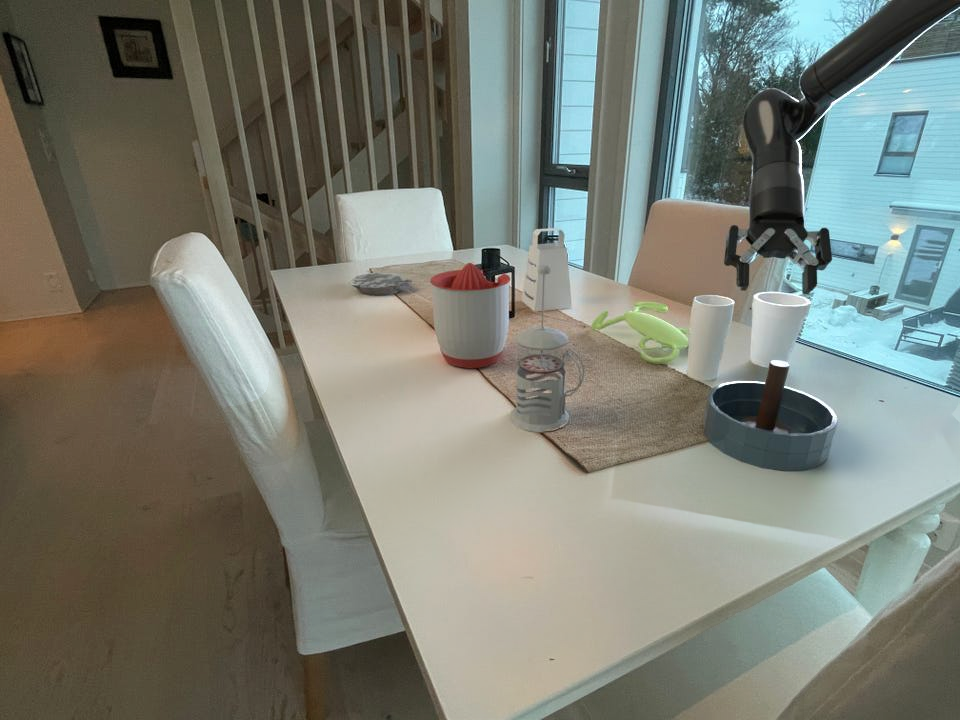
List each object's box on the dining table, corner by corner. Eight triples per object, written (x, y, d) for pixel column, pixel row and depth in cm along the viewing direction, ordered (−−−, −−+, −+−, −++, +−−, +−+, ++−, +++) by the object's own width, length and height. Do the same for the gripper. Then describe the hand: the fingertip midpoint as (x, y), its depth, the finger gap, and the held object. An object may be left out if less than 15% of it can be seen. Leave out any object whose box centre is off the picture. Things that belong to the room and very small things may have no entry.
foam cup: (754, 349, 107) (767, 289, 102) (802, 362, 101) (818, 298, 96) (733, 361, 102) (745, 298, 97) (782, 376, 95) (798, 309, 90)
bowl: (810, 422, 80) (819, 388, 78) (841, 483, 66) (854, 444, 64) (698, 408, 85) (704, 375, 82) (706, 463, 71) (713, 425, 68)
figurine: (648, 316, 128) (651, 295, 126) (728, 354, 105) (733, 329, 103) (583, 326, 123) (585, 303, 121) (652, 368, 99) (655, 341, 97)
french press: (523, 397, 89) (525, 255, 79) (588, 411, 84) (599, 261, 74) (499, 423, 81) (498, 269, 72) (569, 441, 76) (578, 277, 66)
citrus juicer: (529, 352, 108) (531, 258, 100) (477, 381, 96) (474, 276, 88) (473, 337, 117) (471, 249, 110) (419, 361, 105) (412, 265, 97)
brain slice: (337, 290, 156) (336, 281, 155) (380, 279, 168) (379, 270, 167) (378, 301, 145) (377, 291, 144) (422, 288, 157) (421, 279, 155)
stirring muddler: (780, 430, 77) (799, 357, 72) (789, 452, 72) (809, 374, 67) (737, 425, 79) (752, 353, 74) (742, 445, 73) (759, 369, 69)
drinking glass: (683, 383, 93) (695, 304, 87) (679, 368, 99) (690, 293, 93) (723, 386, 92) (738, 306, 86) (717, 371, 98) (730, 295, 92)
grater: (521, 300, 143) (522, 227, 135) (556, 297, 145) (559, 225, 137) (534, 311, 134) (536, 234, 126) (571, 307, 136) (576, 231, 128)
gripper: (733, 183, 80) (730, 275, 75) (837, 184, 76) (840, 281, 71) (722, 212, 87) (719, 298, 82) (817, 214, 83) (819, 304, 78)
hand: (775, 290), depth 77 cm, fingers open, 8 cm apart
